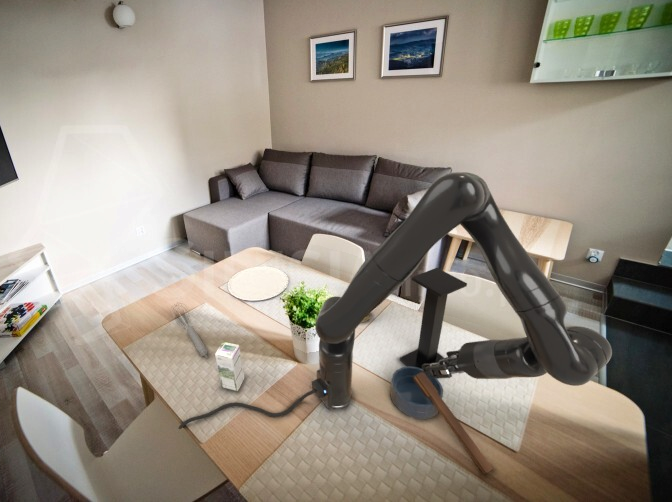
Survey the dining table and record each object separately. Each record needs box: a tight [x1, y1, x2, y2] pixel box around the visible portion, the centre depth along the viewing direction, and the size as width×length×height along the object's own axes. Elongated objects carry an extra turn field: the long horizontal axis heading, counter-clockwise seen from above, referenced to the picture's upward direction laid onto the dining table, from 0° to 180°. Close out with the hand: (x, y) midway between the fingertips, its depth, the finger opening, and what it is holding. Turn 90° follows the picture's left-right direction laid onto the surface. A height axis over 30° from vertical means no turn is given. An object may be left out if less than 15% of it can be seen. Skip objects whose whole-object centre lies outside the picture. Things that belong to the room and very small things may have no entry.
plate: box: [227, 265, 289, 302], centre depth 155 cm, size 29×29×1 cm
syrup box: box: [214, 341, 245, 392], centre depth 101 cm, size 6×6×14 cm
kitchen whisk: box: [170, 301, 208, 359], centre depth 126 cm, size 6×34×6 cm, turn 32°
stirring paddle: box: [413, 372, 494, 475], centre depth 83 cm, size 4×24×1 cm, turn 23°
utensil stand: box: [399, 267, 468, 369], centre depth 99 cm, size 12×10×32 cm
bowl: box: [389, 366, 444, 420], centre depth 93 cm, size 13×13×6 cm
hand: (436, 362), depth 82 cm, fingers open, 8 cm apart
